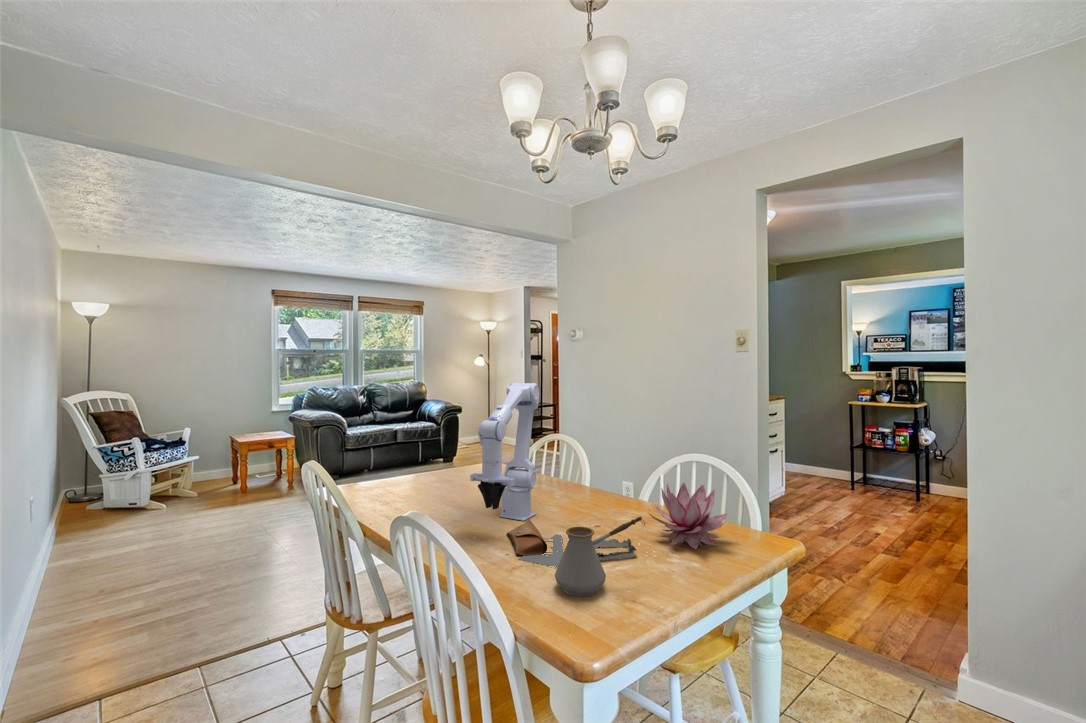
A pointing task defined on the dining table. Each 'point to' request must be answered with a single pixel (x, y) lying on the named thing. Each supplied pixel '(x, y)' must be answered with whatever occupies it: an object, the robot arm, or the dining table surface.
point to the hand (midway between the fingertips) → (492, 507)
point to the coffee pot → (583, 561)
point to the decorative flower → (690, 516)
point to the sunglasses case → (527, 540)
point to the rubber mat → (551, 558)
